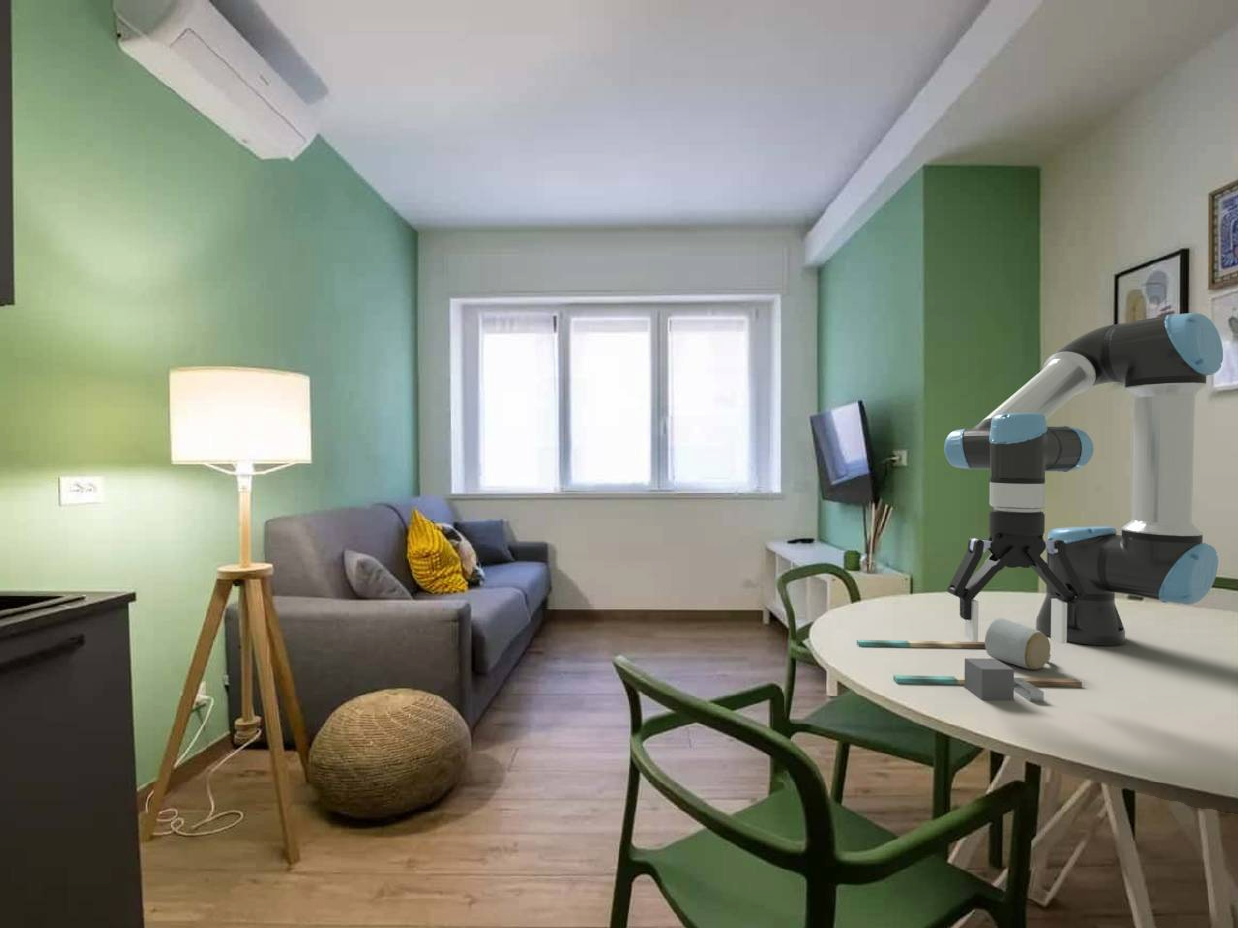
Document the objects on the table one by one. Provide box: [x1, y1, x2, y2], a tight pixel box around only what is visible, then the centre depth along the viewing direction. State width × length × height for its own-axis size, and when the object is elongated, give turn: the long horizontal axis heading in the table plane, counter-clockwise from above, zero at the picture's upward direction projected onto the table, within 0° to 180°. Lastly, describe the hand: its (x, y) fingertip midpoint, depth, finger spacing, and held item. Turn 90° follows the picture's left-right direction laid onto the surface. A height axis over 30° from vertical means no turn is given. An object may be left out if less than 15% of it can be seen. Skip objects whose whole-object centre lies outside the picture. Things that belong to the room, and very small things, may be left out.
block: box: [963, 657, 1015, 701], centre depth 99 cm, size 5×5×5 cm
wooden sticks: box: [856, 639, 1083, 688], centre depth 113 cm, size 30×21×1 cm
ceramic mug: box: [984, 617, 1052, 671], centre depth 113 cm, size 11×8×8 cm
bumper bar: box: [1014, 677, 1045, 703], centre depth 99 cm, size 2×6×2 cm, turn 176°
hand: (1014, 640), depth 99 cm, fingers open, 13 cm apart
